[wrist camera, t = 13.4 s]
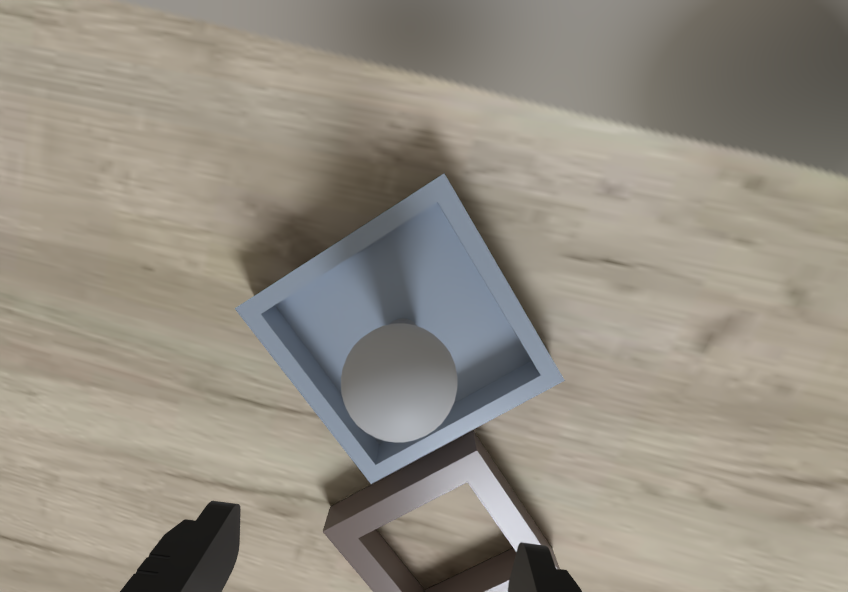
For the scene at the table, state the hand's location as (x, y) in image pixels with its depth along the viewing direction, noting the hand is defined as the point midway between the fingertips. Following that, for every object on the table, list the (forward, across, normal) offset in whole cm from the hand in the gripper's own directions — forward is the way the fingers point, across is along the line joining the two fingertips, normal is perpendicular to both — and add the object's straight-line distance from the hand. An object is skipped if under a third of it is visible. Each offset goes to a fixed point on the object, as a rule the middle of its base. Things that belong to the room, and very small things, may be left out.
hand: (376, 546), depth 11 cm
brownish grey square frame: (+18, -5, +18) cm, 26 cm away
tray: (+18, 0, 0) cm, 19 cm away
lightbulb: (+18, 0, 0) cm, 18 cm away
